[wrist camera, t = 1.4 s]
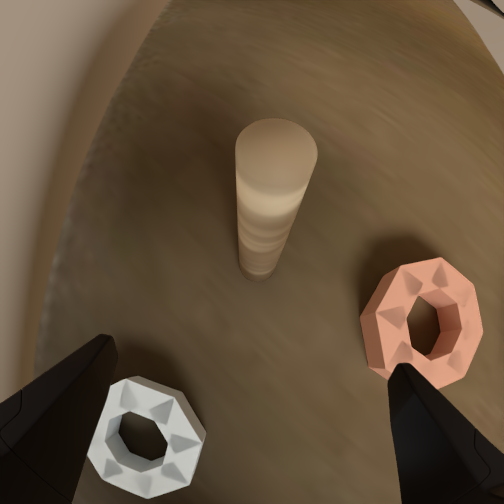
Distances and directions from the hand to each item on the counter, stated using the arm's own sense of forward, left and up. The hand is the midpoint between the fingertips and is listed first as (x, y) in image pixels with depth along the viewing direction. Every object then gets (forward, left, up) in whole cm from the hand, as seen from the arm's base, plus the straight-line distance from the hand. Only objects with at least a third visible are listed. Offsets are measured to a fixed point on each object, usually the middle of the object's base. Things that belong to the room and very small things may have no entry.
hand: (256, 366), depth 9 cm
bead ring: (+9, -10, -13) cm, 18 cm away
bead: (-9, +2, -13) cm, 16 cm away
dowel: (+6, +3, -13) cm, 14 cm away
